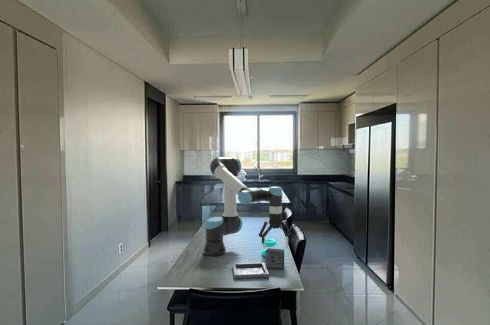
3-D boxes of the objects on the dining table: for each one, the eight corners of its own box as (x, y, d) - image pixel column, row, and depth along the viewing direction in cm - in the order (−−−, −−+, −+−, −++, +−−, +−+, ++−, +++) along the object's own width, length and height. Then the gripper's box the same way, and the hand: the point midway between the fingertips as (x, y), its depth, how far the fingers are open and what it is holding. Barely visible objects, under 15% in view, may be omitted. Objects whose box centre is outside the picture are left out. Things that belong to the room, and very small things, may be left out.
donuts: (270, 243, 207) (258, 240, 213) (270, 258, 208) (258, 255, 214) (279, 240, 215) (267, 237, 221) (279, 254, 215) (267, 251, 222)
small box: (284, 266, 195) (284, 249, 195) (282, 270, 189) (283, 252, 189) (267, 264, 198) (267, 247, 198) (265, 268, 192) (265, 250, 191)
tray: (234, 279, 176) (234, 274, 176) (232, 267, 193) (232, 263, 192) (268, 278, 178) (268, 273, 177) (263, 266, 195) (264, 262, 194)
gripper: (255, 214, 187) (255, 250, 188) (297, 213, 189) (297, 249, 190) (254, 212, 194) (254, 246, 195) (294, 211, 197) (294, 245, 198)
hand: (275, 248), depth 193 cm, fingers open, 13 cm apart
